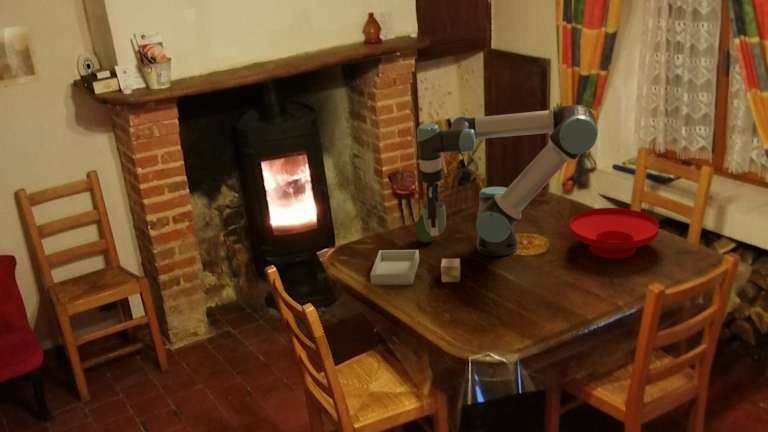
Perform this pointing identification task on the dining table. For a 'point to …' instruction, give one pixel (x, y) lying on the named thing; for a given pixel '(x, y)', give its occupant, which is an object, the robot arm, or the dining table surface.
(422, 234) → the avocado
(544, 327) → the dining table surface
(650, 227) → the bowl
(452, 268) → the beech block
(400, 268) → the tray
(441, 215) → the cup
